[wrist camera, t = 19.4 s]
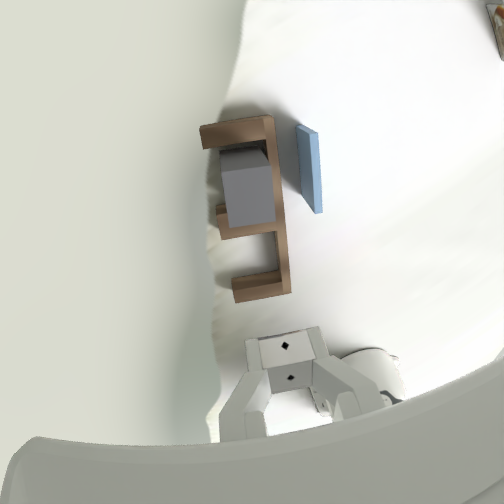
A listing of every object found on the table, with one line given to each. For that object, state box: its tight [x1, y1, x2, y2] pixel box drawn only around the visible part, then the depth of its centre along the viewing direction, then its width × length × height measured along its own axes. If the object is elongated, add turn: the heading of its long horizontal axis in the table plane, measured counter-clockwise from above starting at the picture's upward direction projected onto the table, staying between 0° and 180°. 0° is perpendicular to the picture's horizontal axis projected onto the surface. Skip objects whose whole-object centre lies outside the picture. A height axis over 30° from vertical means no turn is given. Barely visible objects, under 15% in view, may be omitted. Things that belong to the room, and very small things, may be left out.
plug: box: [219, 145, 276, 228], centre depth 29 cm, size 5×4×8 cm
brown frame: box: [199, 115, 323, 303], centre depth 33 cm, size 21×10×5 cm, turn 8°
